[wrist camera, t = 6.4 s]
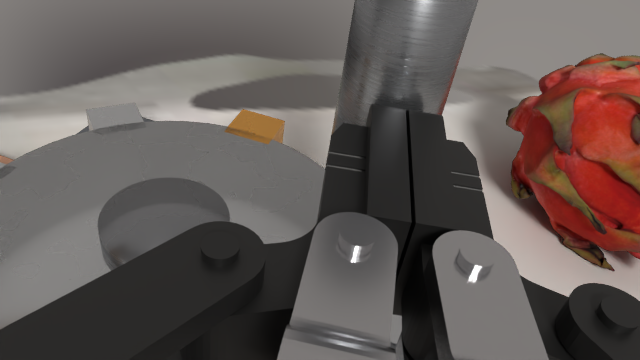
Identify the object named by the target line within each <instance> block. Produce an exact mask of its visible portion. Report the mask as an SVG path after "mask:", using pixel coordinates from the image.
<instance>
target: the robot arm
mask: <svg viewBox="0 0 640 360" xmlns="http://www.w3.org/2000/svg"><path fill="white" fill-rule="evenodd" d="M393 315H399V316H402V331H401V334H400V337H399V339H398V342H397V345H396V350H395V349H394V348H391V346H390V342H391V329H392V317H393ZM0 360H640V301H638V300H637V299H636V298H634V297H633V296H631V295H629V294H628V293H626V292H624V291H622V290H620V289H617V288H615V287H612V286H609V285H605V284H598V283H588V284H583V285H581V286H578V287H577V288H575V289H574V290H573V292H572V293H571V294H570V296H569V297H566V296H564V295H562V294H559V293H557V292H554V291H552V290H549V289H547V288H545V287H542V286H540V285H537V284H535V283H533V282H531V281H529V280H527V279H525V278H524V277H522V276H520V275H519V272H518V269H517V266H516V264H515V261H514V259H513V258H512V256H511V255H510V254H509V252H508V251H507V250H506V249H505V248H504V247H503V246H501V245H500V244H499V243H497V242H496V241H494V239H493V234H492V230H491V225H490V221H489V216H488V212H487V207H486V202H485V198H484V193H483V192H482V184H481V179H480V178H479V170H478V166H477V161H476V158H475V157H474V156H473V154H472V153H471V152H470V151H469V149H468V148H467V147H466V146H465V144H464V143H463V142H458V141H452V140H446V133H445V127H444V120H443V116H442V115H438V114H432V113H426V112H420V111H413V110H407V111H406V110H405V109H401V108H395V107H389V106H382V105H376V104H371V105H370V109H369V112H368V117H367V121H366V126H360V125H354V124H348V123H343V124H342V125H341V126H340V127H339V128H338V129H337V130H336V131H335V132H334V133H333V134H332V135H331V140H330V146H329V151H328V157H327V163H326V169H325V174H324V180H323V186H322V192H321V199H320V205H319V212H318V219H317V224H316V225H315V226H314V228H313V229H312V230H311V231H309V232H308V233H307V234H305V235H304V236H302V237H300V238H297V239H295V240H291V241H287V242H281V243H270V244H264V243H263V241H262V240H261V239H260V237H259V236H258V235H257V234H256V233H255V232H254V231H252V230H251V229H249V228H247V227H245V226H243V225H240V224H237V223H233V222H227V221H213V222H207V223H203V224H200V225H197V226H195V227H193V228H191V229H189V230H187V231H185V232H183V233H181V234H179V235H178V236H176V237H174V238H172V239H170V240H168V241H166V242H164V243H162V244H161V245H159V246H157V247H155V248H153V249H151V250H149V251H147V252H145V253H144V254H142V255H140V256H138V257H136V258H134V259H132V260H130V261H128V262H127V263H125V264H123V265H121V266H119V267H117V268H115V269H113V270H111V271H109V272H108V273H106V274H104V275H102V276H100V277H98V278H96V279H94V280H92V281H91V282H89V283H87V284H85V285H83V286H81V287H79V288H77V289H75V290H74V291H72V292H70V293H68V294H66V295H64V296H62V297H60V298H58V299H57V300H55V301H53V302H51V303H49V304H47V305H45V306H43V307H41V308H40V309H38V310H36V311H34V312H32V313H30V314H28V315H26V316H24V317H23V318H21V319H19V320H17V321H15V322H13V323H11V324H9V325H7V326H5V327H4V328H2V329H0Z"/></svg>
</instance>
